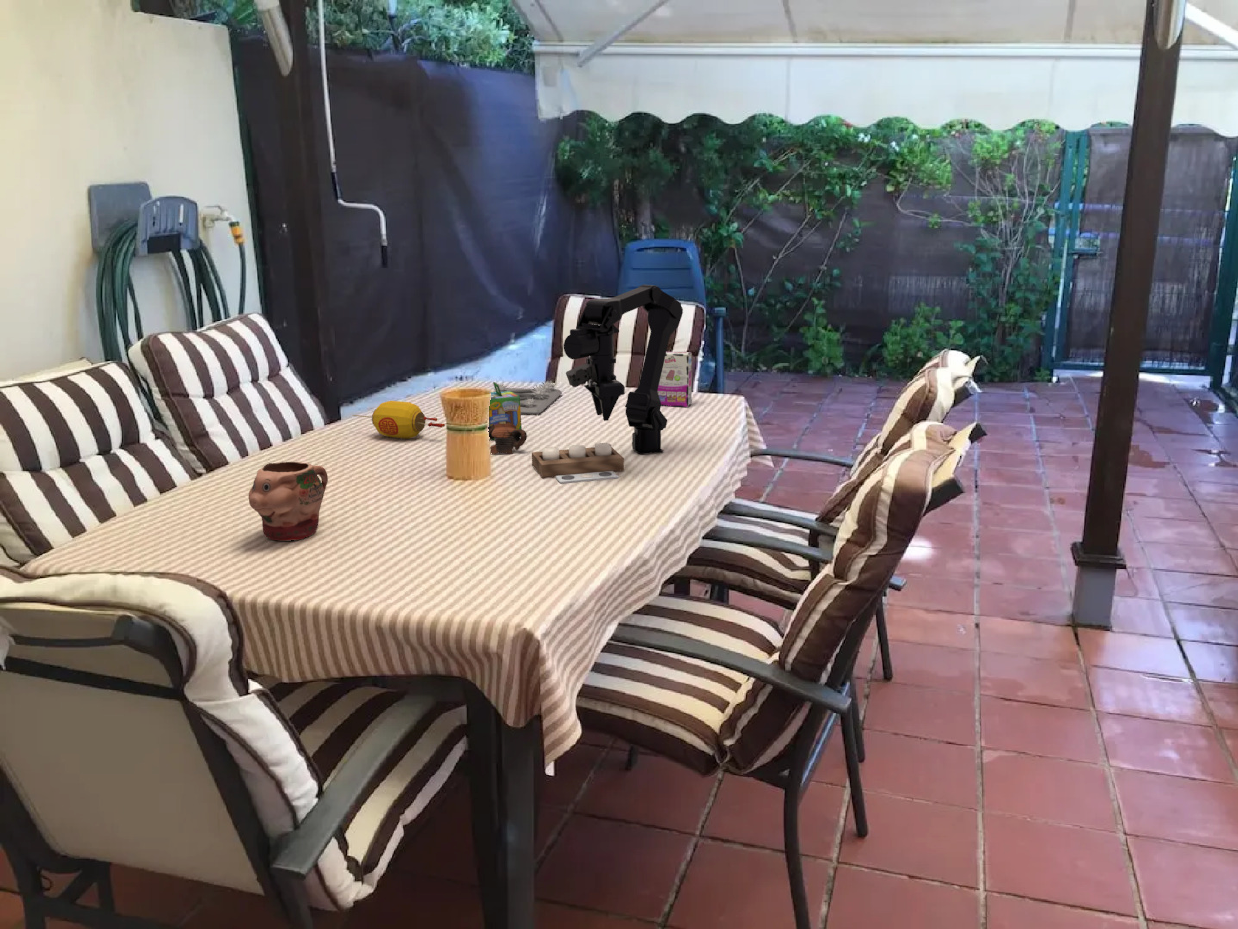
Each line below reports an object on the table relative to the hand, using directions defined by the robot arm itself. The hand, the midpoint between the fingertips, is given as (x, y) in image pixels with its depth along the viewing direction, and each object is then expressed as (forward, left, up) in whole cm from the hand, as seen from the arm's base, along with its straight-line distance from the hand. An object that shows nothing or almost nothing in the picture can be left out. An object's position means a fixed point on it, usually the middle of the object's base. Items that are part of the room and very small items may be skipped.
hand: (602, 417), depth 246 cm
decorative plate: (+7, -77, -13) cm, 78 cm away
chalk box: (+19, -38, -12) cm, 44 cm away
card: (+7, +9, -12) cm, 16 cm away
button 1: (+13, 0, -10) cm, 16 cm away
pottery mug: (+20, -22, -12) cm, 32 cm away
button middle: (+7, 0, -10) cm, 12 cm away
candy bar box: (-38, -60, -12) cm, 72 cm away
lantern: (+46, -45, -12) cm, 65 cm away
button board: (+7, 0, -12) cm, 14 cm away
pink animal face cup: (+72, +28, -12) cm, 78 cm away
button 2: (0, 0, -10) cm, 10 cm away
